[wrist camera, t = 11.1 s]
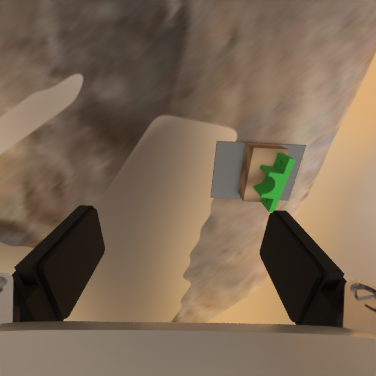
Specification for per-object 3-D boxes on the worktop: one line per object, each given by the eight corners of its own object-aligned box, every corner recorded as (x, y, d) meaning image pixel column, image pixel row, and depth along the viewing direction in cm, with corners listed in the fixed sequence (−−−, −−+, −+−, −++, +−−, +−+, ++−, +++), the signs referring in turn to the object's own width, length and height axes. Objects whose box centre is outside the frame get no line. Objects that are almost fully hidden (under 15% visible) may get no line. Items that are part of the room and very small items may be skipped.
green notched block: (265, 150, 36) (275, 156, 32) (283, 153, 36) (295, 159, 32) (249, 199, 40) (256, 210, 36) (265, 201, 41) (274, 212, 36)
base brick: (246, 142, 40) (253, 147, 35) (277, 144, 40) (288, 149, 36) (237, 191, 45) (243, 201, 40) (265, 192, 45) (273, 202, 41)
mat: (216, 141, 40) (217, 141, 40) (305, 145, 41) (306, 145, 40) (210, 196, 46) (210, 197, 46) (287, 199, 47) (288, 200, 46)
